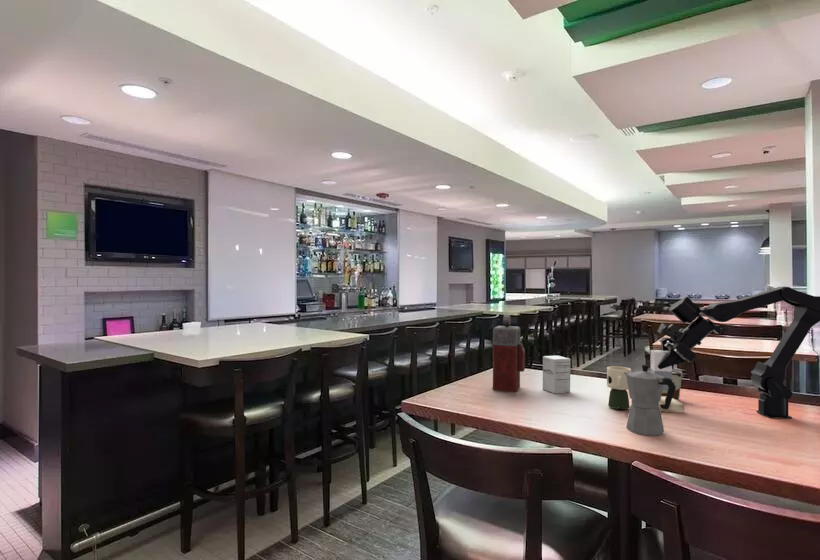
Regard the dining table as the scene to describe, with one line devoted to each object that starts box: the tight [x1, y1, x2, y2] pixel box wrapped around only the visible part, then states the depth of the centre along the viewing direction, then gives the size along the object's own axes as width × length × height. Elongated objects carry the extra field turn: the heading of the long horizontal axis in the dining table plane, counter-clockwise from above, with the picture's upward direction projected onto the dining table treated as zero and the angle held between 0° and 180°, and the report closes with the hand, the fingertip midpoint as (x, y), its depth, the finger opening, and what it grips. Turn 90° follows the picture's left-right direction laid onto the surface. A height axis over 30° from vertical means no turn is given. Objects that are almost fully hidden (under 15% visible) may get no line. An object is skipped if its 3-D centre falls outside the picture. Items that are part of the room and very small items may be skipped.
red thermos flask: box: [492, 314, 526, 393], centre depth 173 cm, size 9×11×28 cm
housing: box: [650, 349, 673, 390], centre depth 148 cm, size 5×5×12 cm
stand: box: [659, 396, 685, 413], centre depth 149 cm, size 10×10×2 cm
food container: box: [648, 367, 685, 401], centre depth 162 cm, size 12×6×10 cm, turn 84°
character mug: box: [606, 365, 632, 411], centre depth 147 cm, size 11×7×13 cm, turn 159°
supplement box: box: [542, 355, 572, 394], centre depth 171 cm, size 7×7×13 cm
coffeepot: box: [624, 364, 676, 437], centre depth 124 cm, size 15×9×18 cm, turn 24°
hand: (656, 366), depth 149 cm, fingers closed on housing, 5 cm apart
